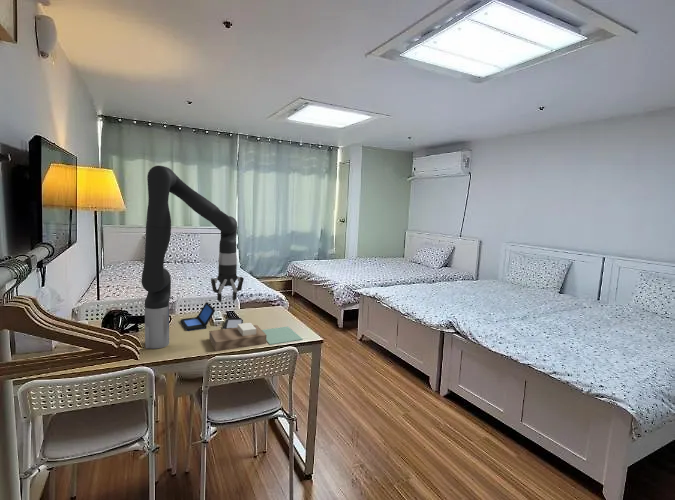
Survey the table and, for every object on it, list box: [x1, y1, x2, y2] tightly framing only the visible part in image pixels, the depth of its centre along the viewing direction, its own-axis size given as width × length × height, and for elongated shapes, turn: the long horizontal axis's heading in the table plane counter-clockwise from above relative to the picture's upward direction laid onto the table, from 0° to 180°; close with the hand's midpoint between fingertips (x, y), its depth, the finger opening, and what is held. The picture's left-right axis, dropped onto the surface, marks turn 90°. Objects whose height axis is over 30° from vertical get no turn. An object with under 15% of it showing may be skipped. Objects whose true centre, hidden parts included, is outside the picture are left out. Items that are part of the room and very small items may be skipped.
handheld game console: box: [180, 301, 216, 332], centre depth 183 cm, size 16×13×9 cm
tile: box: [238, 322, 256, 336], centre depth 167 cm, size 6×9×3 cm, turn 30°
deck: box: [208, 324, 267, 352], centre depth 165 cm, size 22×14×4 cm, turn 120°
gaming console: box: [222, 317, 244, 329], centre depth 183 cm, size 19×9×2 cm, turn 12°
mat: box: [261, 326, 304, 346], centre depth 175 cm, size 16×18×1 cm
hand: (227, 300), depth 160 cm, fingers open, 5 cm apart
